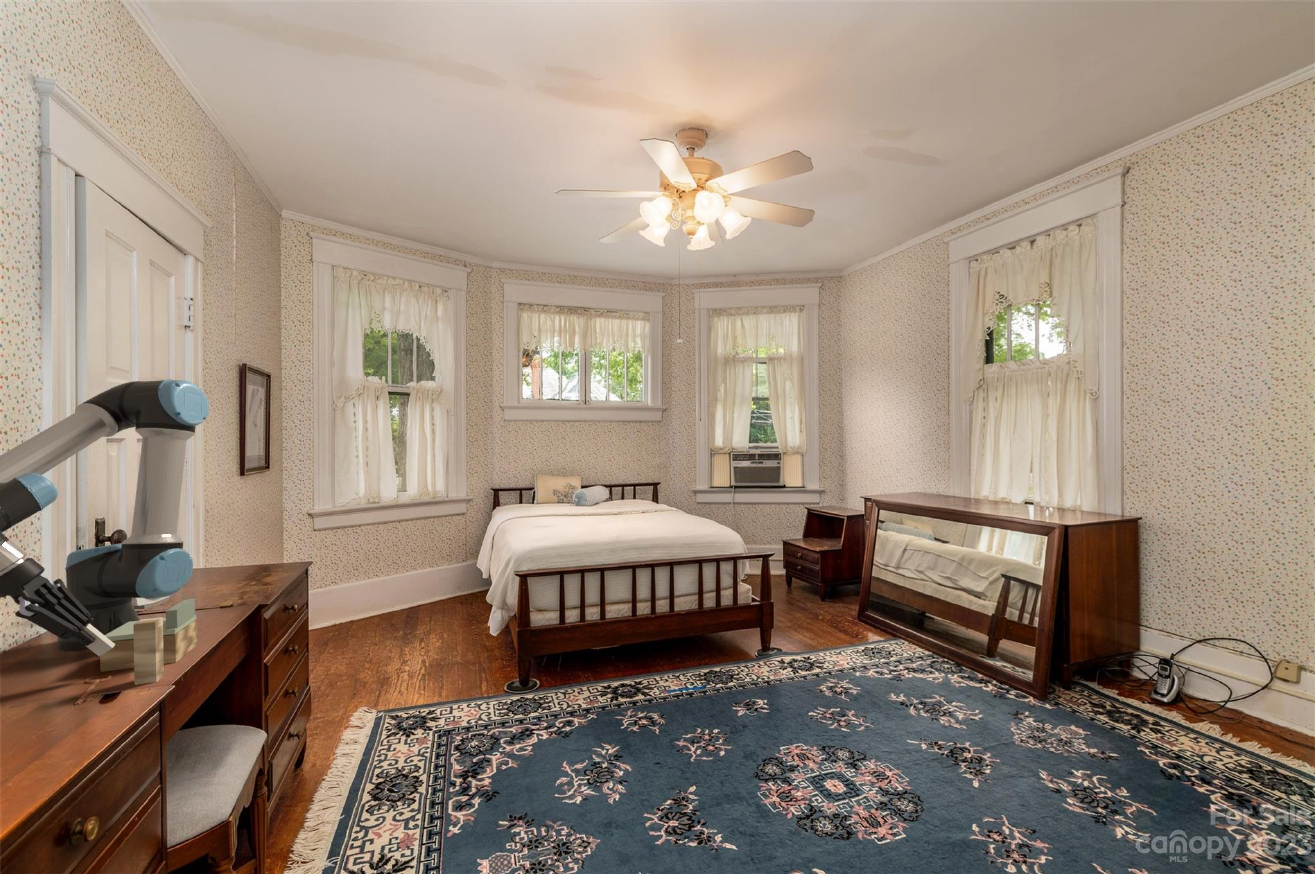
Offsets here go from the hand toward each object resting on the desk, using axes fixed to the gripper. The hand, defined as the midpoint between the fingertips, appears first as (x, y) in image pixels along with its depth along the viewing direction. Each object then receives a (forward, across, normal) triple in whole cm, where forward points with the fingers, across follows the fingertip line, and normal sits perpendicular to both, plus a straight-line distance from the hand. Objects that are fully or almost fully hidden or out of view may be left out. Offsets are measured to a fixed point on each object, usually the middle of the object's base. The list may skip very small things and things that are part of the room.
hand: (107, 650), depth 121 cm
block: (+8, +9, +6) cm, 13 cm away
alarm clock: (+10, -62, -20) cm, 65 cm away
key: (+4, +9, -1) cm, 10 cm away
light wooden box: (+8, -7, 0) cm, 11 cm away
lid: (+4, -9, +4) cm, 10 cm away
